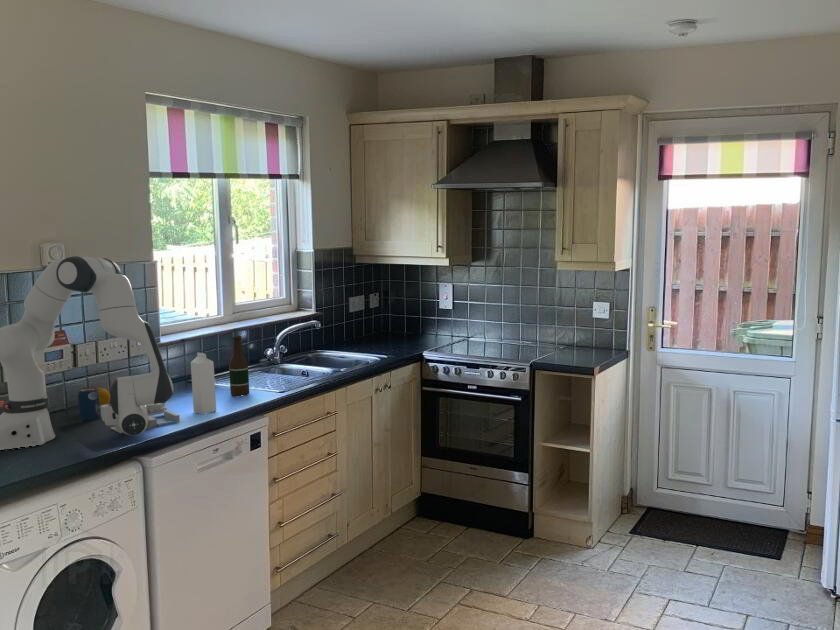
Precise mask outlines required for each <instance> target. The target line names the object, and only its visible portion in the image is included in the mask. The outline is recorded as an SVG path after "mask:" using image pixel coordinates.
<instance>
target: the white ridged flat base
mask: <svg viewBox="0 0 840 630" xmlns="http://www.w3.org/2000/svg"><path fill="white" fill-rule="evenodd" d="M183 422H184V420H183V419H181V418H180V414H178V413H176V412H174V411H172V410H169V409H167V410H165V411H164V413H163V414H158V415H153V416H152V415H148V425H147V427H146V429H151V428H157V427H158V428H160V427H164V426H170V425H175V424H178V423H183ZM110 429H111V430H113V431H115V432H117V433H119V434H125V433H124V432H123V431H122V430H121V428H120V426H112V427H111V426H110ZM146 429H145V430H146Z"/></svg>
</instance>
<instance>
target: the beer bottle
mask: <svg viewBox="0 0 840 630" xmlns="http://www.w3.org/2000/svg"><path fill="white" fill-rule="evenodd" d="M232 341H233V342H232V344H233V345H232V347H233V348H232V356H231V358H230V361H229V363H228V365H229V367H228V369H229V370H228V371H229V373H228V374H229V388H230V390H229V391H230V395H231V396H232V397H236V396H239V397H242V396H241V395H246V396H248V395H247V394H249V395H250V377H249V376H250V375H249V363H248V361H247V359H246V357H245V356H244V353H243V344H242V336H241V335H238V334H237V335H233V336H232Z"/></svg>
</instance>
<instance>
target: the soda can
mask: <svg viewBox="0 0 840 630" xmlns="http://www.w3.org/2000/svg"><path fill="white" fill-rule="evenodd" d="M97 388H98V387H84V388H80V389H79V391H78V394H77V401H78V415H79V422H80V423H87V422H91V421H96V420H100V419H102V418H101V412H100V401H99V392H98V391H97Z"/></svg>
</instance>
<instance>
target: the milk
mask: <svg viewBox="0 0 840 630" xmlns="http://www.w3.org/2000/svg"><path fill="white" fill-rule="evenodd" d="M196 353H197V355H196V357H195V358H194V359H193V360H191V362H190V372H191V389H192V390H191V391H192V404H193V405H192V406H193V413H195V412H196V413H195V414H198V413H200V414H199V415H202V414H203V415H206V414H205V413H208V414H210V412H212V413H215V412H214V411H216V412H217V400H216V399H217V397H216V383H215V382H216V380H215V364H214V361H213V360H211V359H209V358H207V354H206V353H202V352H196Z"/></svg>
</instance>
